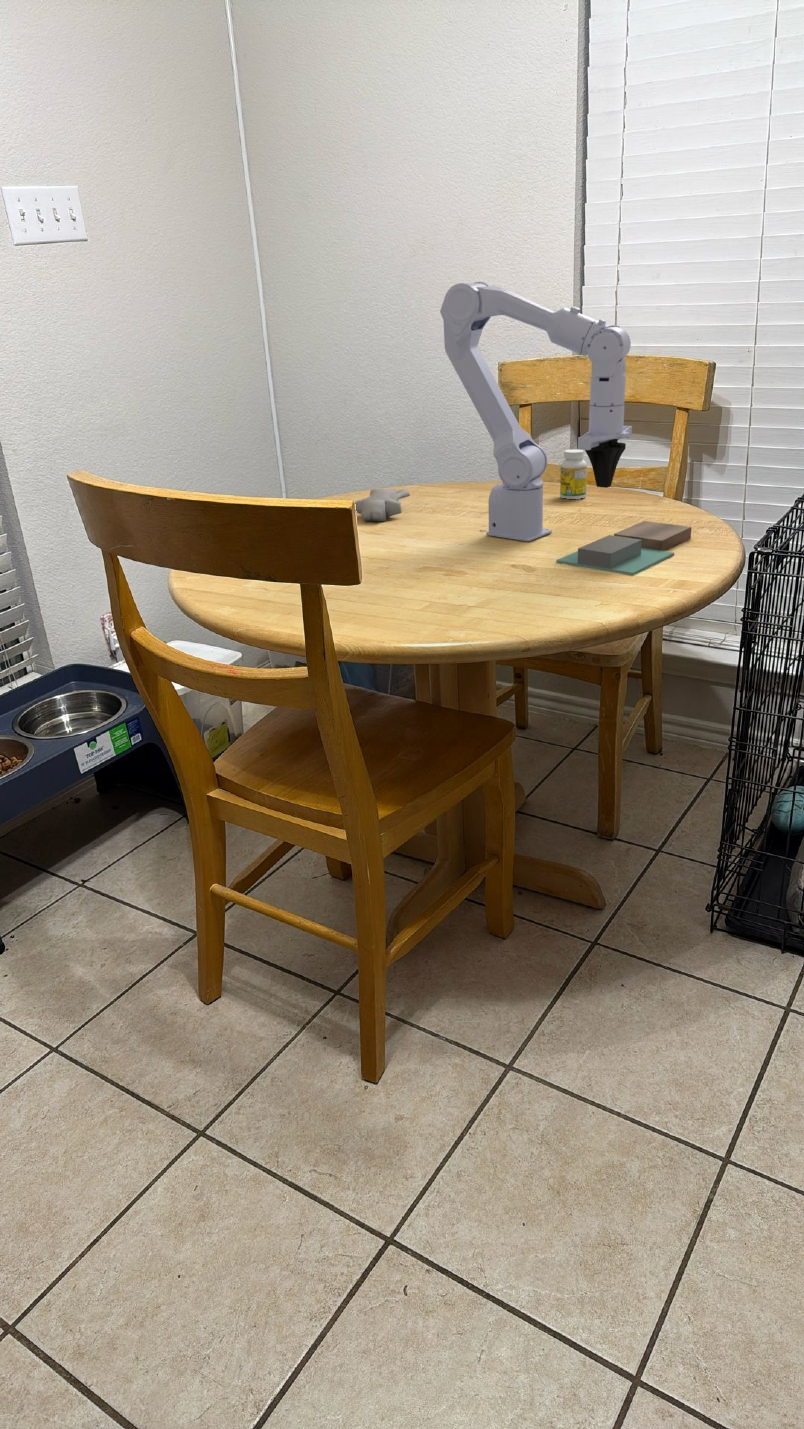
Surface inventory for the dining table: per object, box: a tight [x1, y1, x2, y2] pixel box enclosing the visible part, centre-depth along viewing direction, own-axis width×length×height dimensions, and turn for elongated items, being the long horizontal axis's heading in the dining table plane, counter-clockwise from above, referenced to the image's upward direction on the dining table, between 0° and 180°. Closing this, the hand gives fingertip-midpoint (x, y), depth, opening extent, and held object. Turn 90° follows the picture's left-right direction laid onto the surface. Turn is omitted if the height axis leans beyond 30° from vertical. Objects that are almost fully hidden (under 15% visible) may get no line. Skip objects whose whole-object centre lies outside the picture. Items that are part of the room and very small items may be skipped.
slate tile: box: [577, 534, 642, 569], centre depth 158 cm, size 6×10×2 cm, turn 140°
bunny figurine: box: [354, 488, 411, 522], centre depth 196 cm, size 10×5×15 cm
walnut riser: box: [613, 520, 692, 551], centre depth 168 cm, size 9×11×2 cm
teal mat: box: [555, 548, 675, 576], centre depth 160 cm, size 14×14×1 cm
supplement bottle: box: [559, 448, 588, 500], centre depth 202 cm, size 5×5×10 cm
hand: (603, 486), depth 167 cm, fingers closed
